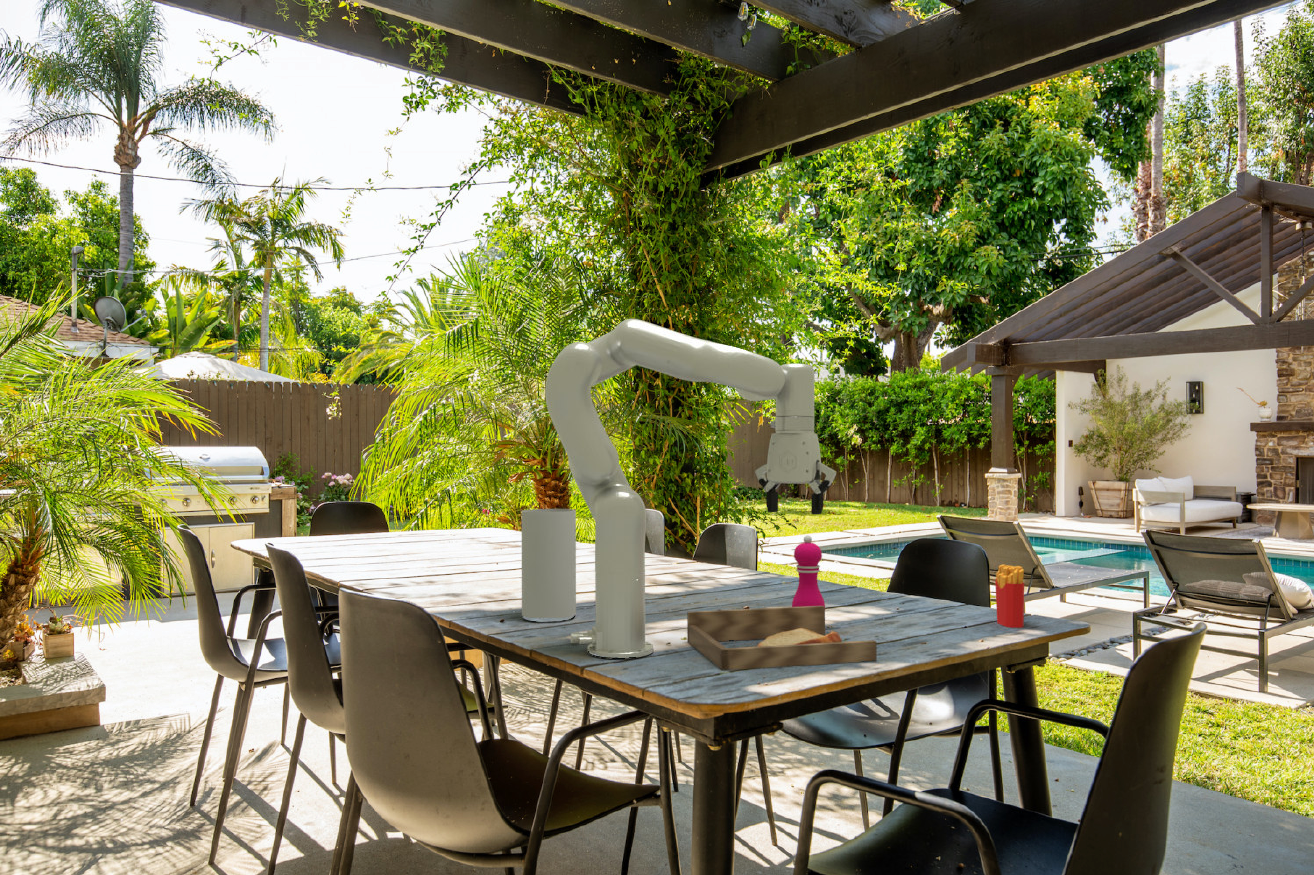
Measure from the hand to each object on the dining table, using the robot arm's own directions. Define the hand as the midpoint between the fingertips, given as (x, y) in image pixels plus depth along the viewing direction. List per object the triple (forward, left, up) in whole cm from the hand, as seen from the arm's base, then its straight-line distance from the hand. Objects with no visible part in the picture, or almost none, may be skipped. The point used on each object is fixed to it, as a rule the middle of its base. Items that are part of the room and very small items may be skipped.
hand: (794, 513), depth 172 cm
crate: (-5, -4, -26) cm, 27 cm away
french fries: (+53, +8, -26) cm, 60 cm away
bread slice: (-1, -4, -27) cm, 27 cm away
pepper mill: (+9, +16, -26) cm, 32 cm away
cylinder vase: (-45, +41, -26) cm, 66 cm away
